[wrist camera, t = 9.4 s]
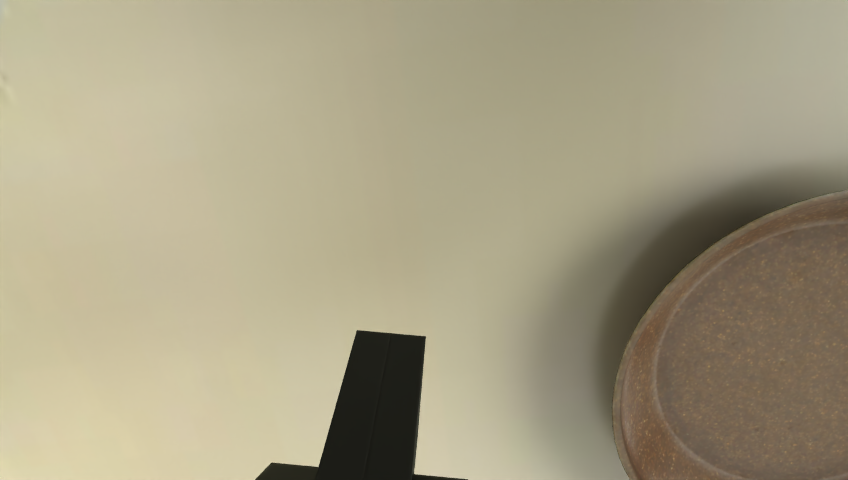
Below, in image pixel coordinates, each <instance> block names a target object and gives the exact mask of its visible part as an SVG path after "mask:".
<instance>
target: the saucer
mask: <svg viewBox="0 0 848 480" xmlns="http://www.w3.org/2000/svg"><path fill="white" fill-rule="evenodd" d="M612 421H613V431H614V440H615V443H616V446H617V451H618V455H619V458H620V460H621V462H622V465H623V467H624V469H625V471H626V473H627V475H628V477H629V478H630V480H848V190H844V191H839V192H834V193H829V194H825V195H821V196H818V197H814V198H810V199H806V200H803V201H800V202H796V203H794V204H791V205H789V206H786V207H783V208H781V209H778V210H776V211H773V212H771V213H768V214H766V215H764V216H762V217H760V218H758V219H755V220H753V221H751V222H749V223H747V224H745V225H744V226H742V227H740V228H738V229H736V230H735V231H733V232H731V233H730V234H728V235H726V236H725V237H723V238H722V239H720V240H719V241H717V242H716V243H714V244H713V245H711V246H710V247H709V248H707V249H706V250H705V251H703V252H702V253H701V254H700V255H698V256H697V257H696V258H695V259H693V260H692V261H691V262H690V263H689V264H688V265H687V266H685V267H684V268H683V269H682V270H681V271H680V272H679V273H678V274H677V275H676V276H675V277H674V278H673V279H672V280H671V281H670V282H669V283H668V285H667V286H666V287H665V288H664V289H663V290H662V291H661V292H660V293H659V294H658V296H657V297H656V299H655V300H654V301H653V303H652V304H651V305H650V307H649V308H648V309H647V311H646V312H645V314H644V315H643V317H642V318H641V320H640V321H639V323H638V325H637V326H636V328H635V330H634V331H633V333H632V335H631V337H630V339H629V341H628V343H627V346H626V348H625V351H624V353H623V356H622V359H621V362H620V364H619V368H618V372H617V376H616V380H615V385H614V392H613V400H612Z"/></svg>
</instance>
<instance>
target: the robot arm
mask: <svg viewBox="0 0 848 480" xmlns="http://www.w3.org/2000/svg"><path fill="white" fill-rule="evenodd" d="M425 339H426V336H414V335H403V334H392V333H381V332H370V331H358V330H357V332H356V335H355V339H354V343H353V346H352V350H351V353H350V357H349V360H348V364H347V368H346V371H345V375H344V378H343V382H342V385H341V389H340V393H339V396H338V400H337V403H336V407H335V410H334V414H333V418H332V421H331V425H330V428H329V432H328V435H327V439H326V443H325V446H324V450H323V453H322V457H321V460H320V464H319V467H312V466H301V465H291V464H280V463H271V464H270V465H269V466H268V467H267V468H266V469H265V470H264V471H263V472H262V473H261V474H260V475H259V476H258V477H257V478H256V479H255V480H468V479H458V478H447V477H437V476H426V475H415V474H414V468H415V458H416V447H417V437H418V425H419V413H420V400H421V388H422V376H423V364H424V351H425Z"/></svg>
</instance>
